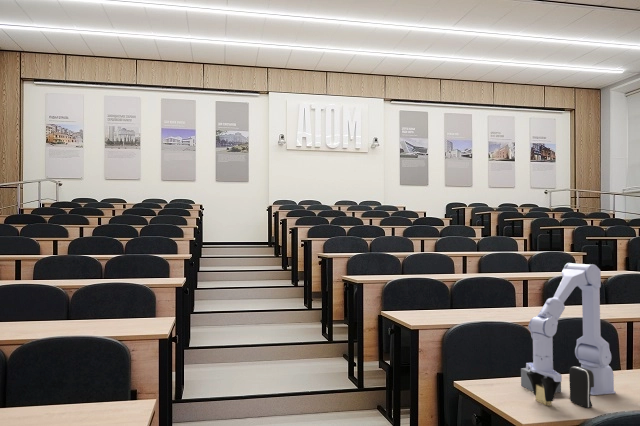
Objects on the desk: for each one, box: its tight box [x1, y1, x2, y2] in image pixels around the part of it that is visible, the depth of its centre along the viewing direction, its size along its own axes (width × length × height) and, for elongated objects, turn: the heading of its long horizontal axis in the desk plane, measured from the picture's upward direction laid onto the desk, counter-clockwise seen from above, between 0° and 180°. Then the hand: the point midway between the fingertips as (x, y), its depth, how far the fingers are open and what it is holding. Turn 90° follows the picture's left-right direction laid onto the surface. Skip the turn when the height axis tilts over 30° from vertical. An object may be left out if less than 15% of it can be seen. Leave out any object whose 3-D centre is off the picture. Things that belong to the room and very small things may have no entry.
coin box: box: [520, 367, 562, 394], centre depth 168 cm, size 9×9×6 cm
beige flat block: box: [535, 384, 553, 406], centre depth 155 cm, size 2×5×5 cm, turn 13°
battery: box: [568, 366, 594, 408], centre depth 153 cm, size 7×4×11 cm, turn 17°
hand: (543, 398), depth 155 cm, fingers closed on beige flat block, 5 cm apart
